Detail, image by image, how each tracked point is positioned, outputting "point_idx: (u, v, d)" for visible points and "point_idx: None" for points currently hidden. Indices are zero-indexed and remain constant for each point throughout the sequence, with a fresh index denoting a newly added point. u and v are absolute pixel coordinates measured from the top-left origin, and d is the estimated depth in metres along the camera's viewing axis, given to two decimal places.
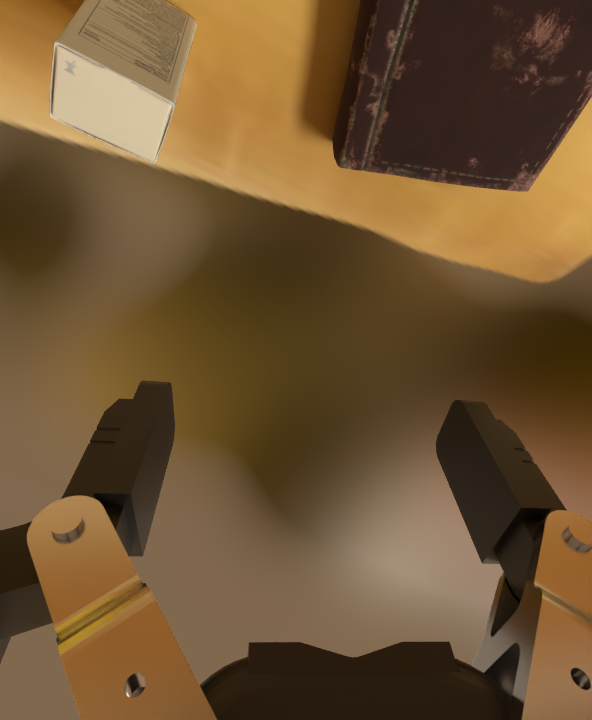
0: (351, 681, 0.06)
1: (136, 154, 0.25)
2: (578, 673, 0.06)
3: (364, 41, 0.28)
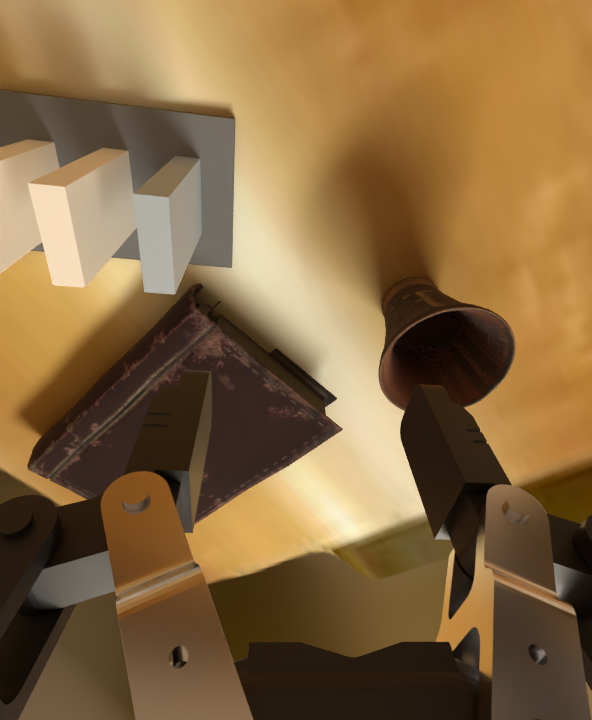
0: (351, 681, 0.06)
1: None
2: (534, 649, 0.06)
3: (77, 416, 0.36)
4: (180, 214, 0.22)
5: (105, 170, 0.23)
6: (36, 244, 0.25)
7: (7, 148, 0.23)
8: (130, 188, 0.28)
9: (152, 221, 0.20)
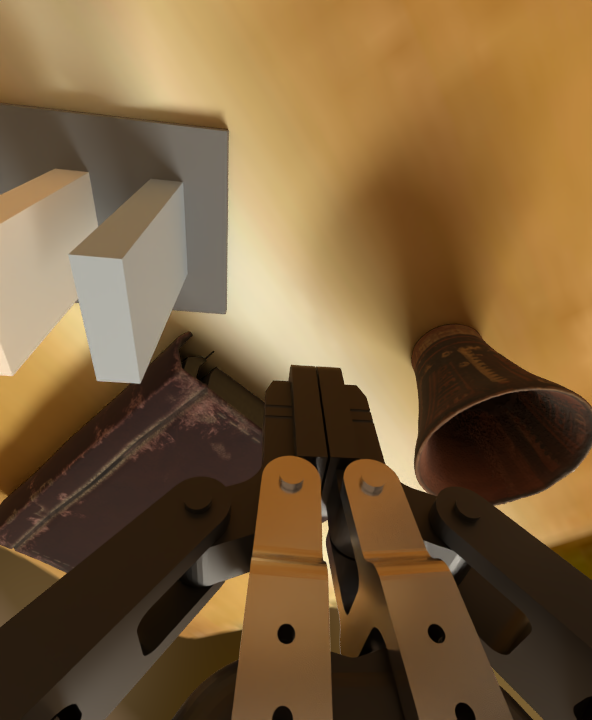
0: (351, 681, 0.06)
1: None
2: (432, 628, 0.06)
3: (42, 483, 0.30)
4: (148, 270, 0.16)
5: (48, 205, 0.17)
6: None
7: None
8: (93, 220, 0.21)
9: (100, 291, 0.13)
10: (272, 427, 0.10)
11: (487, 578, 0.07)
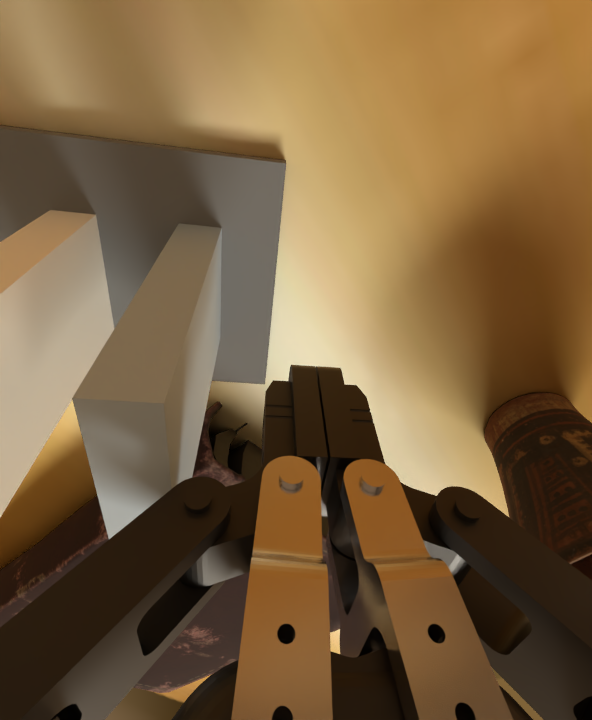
0: (351, 681, 0.06)
1: None
2: (432, 628, 0.06)
3: (31, 577, 0.25)
4: (189, 380, 0.10)
5: (40, 274, 0.12)
6: None
7: None
8: (100, 276, 0.16)
9: (125, 446, 0.08)
10: (272, 427, 0.10)
11: (487, 578, 0.07)
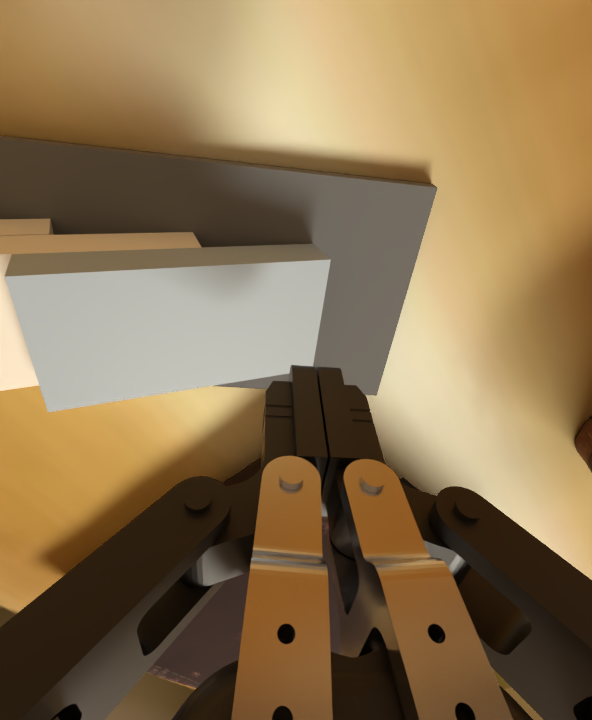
0: (351, 681, 0.06)
1: None
2: (432, 628, 0.06)
3: None
4: (115, 316, 0.13)
5: None
6: None
7: None
8: None
9: None
10: (272, 427, 0.10)
11: (487, 578, 0.07)
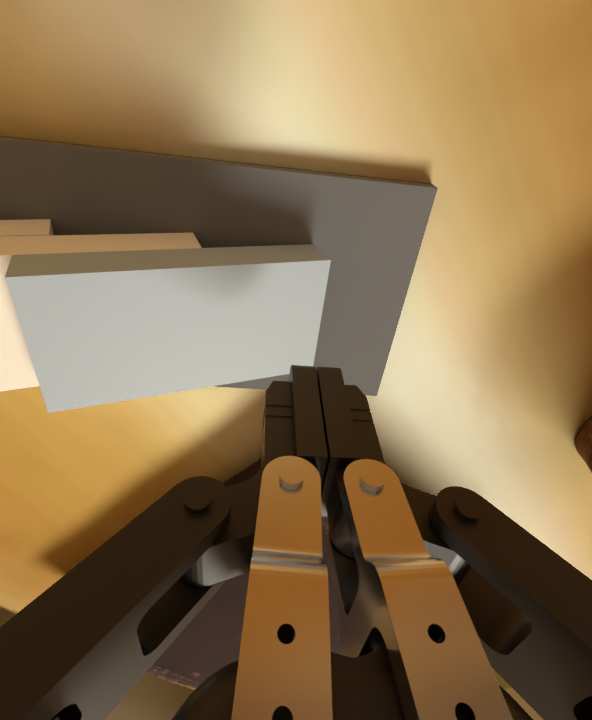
0: (351, 681, 0.06)
1: None
2: (432, 628, 0.06)
3: None
4: (115, 316, 0.13)
5: None
6: None
7: None
8: None
9: None
10: (272, 427, 0.10)
11: (487, 578, 0.07)
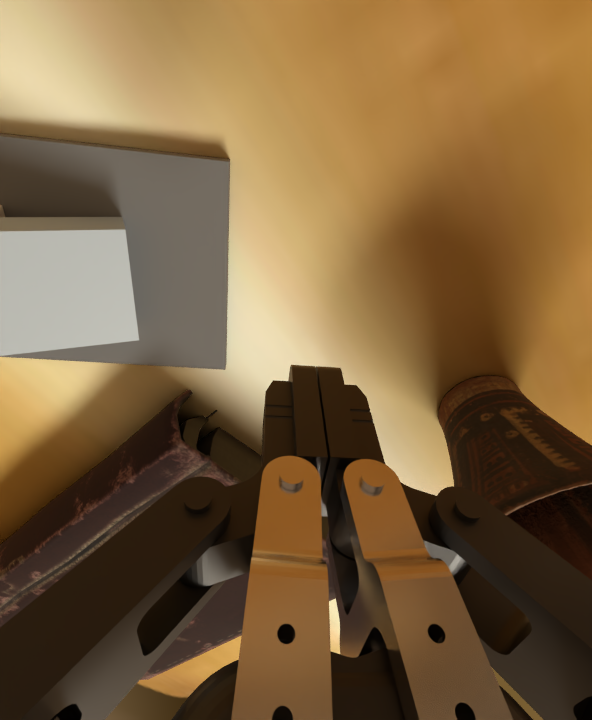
0: (351, 681, 0.06)
1: None
2: (432, 628, 0.06)
3: (11, 560, 0.26)
4: None
5: None
6: None
7: None
8: None
9: None
10: (272, 427, 0.10)
11: (487, 578, 0.07)
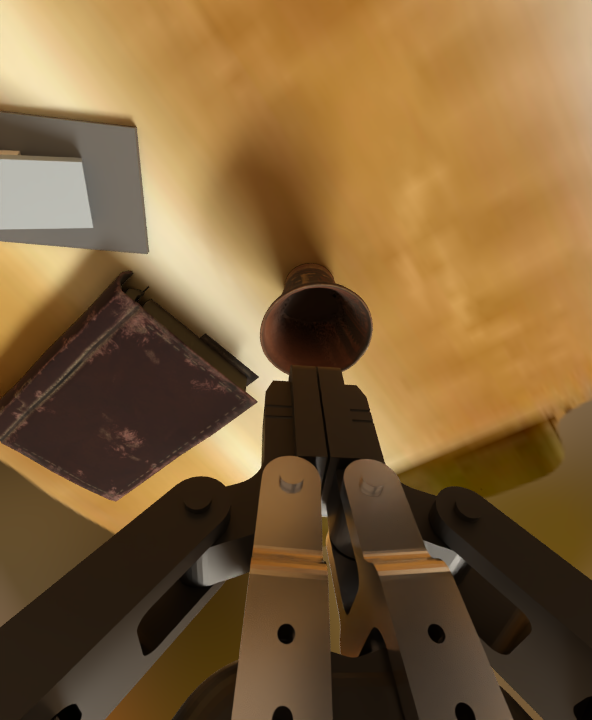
0: (351, 681, 0.06)
1: None
2: (432, 628, 0.06)
3: (23, 384, 0.41)
4: None
5: None
6: None
7: None
8: None
9: None
10: (272, 427, 0.10)
11: (487, 578, 0.07)
